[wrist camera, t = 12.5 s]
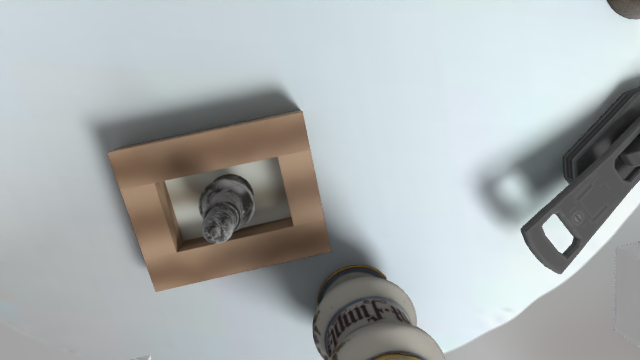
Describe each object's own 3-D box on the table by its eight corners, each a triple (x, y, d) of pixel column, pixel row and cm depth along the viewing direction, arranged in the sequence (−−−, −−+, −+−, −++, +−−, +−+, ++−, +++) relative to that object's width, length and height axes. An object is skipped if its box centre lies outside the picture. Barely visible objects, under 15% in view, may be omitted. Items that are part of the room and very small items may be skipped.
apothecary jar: (417, 308, 51) (489, 424, 34) (340, 355, 52) (372, 494, 34) (371, 238, 48) (425, 327, 31) (290, 290, 48) (298, 405, 31)
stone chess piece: (193, 198, 44) (163, 239, 32) (228, 160, 43) (210, 189, 32) (233, 230, 45) (218, 280, 34) (267, 194, 45) (263, 233, 33)
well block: (120, 147, 42) (107, 152, 39) (300, 109, 43) (302, 112, 40) (164, 276, 46) (155, 291, 43) (327, 239, 47) (331, 251, 44)
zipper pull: (517, 232, 42) (703, 72, 40) (485, 212, 49) (644, 74, 47) (559, 283, 45) (738, 134, 42) (524, 258, 51) (677, 127, 49)
